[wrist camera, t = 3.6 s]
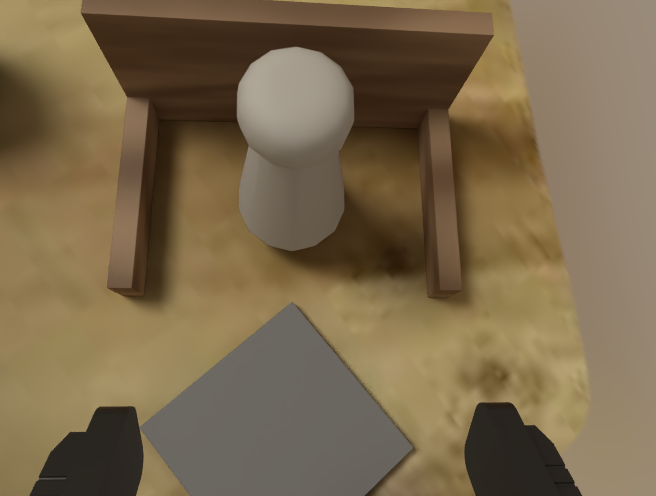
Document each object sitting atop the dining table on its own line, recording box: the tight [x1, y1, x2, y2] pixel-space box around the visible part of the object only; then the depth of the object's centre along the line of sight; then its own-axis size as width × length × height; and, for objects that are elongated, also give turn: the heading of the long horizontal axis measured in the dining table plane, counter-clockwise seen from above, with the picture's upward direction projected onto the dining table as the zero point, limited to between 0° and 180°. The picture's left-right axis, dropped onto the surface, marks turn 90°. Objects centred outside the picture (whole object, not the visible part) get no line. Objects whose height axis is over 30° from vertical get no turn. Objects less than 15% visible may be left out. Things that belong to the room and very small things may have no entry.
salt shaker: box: [237, 47, 354, 251], centre depth 23 cm, size 6×6×13 cm
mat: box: [140, 302, 413, 496], centre depth 26 cm, size 10×10×1 cm
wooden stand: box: [81, 0, 494, 297], centre depth 25 cm, size 12×18×9 cm, turn 91°
